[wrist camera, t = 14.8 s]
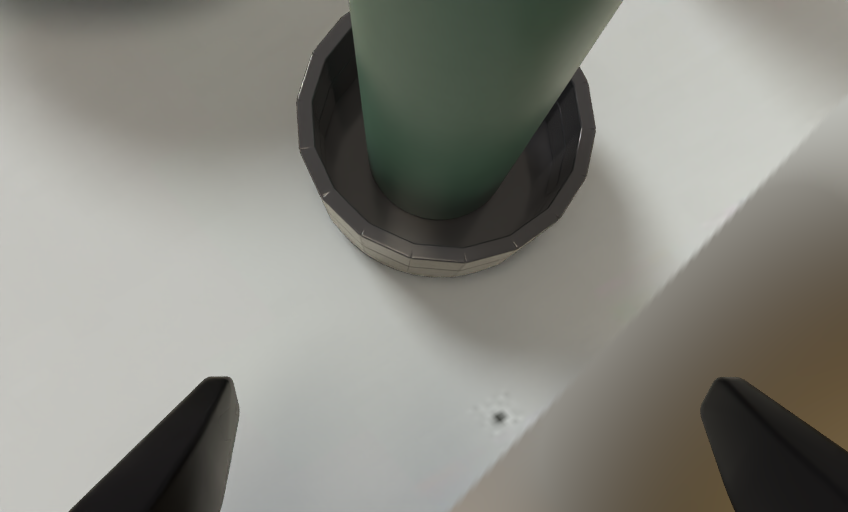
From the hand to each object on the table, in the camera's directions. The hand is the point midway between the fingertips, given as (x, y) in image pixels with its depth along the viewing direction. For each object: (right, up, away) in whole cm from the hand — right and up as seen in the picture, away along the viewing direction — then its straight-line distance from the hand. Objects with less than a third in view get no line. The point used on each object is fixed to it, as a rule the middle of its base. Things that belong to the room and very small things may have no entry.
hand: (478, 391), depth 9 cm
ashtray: (0, +6, +10) cm, 12 cm away
